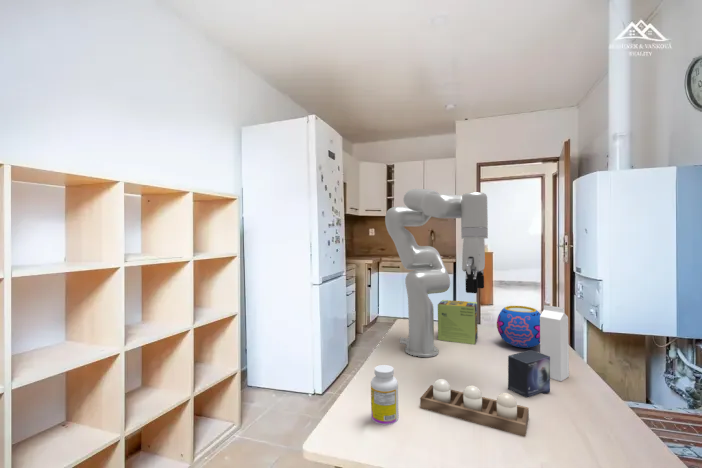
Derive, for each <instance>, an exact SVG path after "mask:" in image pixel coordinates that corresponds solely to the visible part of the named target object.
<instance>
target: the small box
mask: <svg viewBox="0 0 702 468" xmlns="http://www.w3.org/2000/svg"><path fill="white" fill-rule="evenodd" d="M507 357H508V358H507V360H508V361H507V362H508V363H507V371H508V372H507V374H508V375H507V390H509V391H511V392H513V393H515V394H517V395H520V396H521V397H524V398H527V399H528V398H532V397H534V396H538V395H539V394H542V395H546V394H548V393H551V378H550V356H547V355H544V354H541V353H540V352H538V351H535V350H532V349H530V350H525V351H521V352H518V353H513V354H510V355H509V354H508V356H507Z"/></svg>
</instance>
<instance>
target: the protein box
mask: <svg viewBox="0 0 702 468" xmlns="http://www.w3.org/2000/svg"><path fill="white" fill-rule="evenodd" d="M478 327H479V326H478V302H477V301H464V300H463V301H462V300H448V299H442V300H441V301H440V302H439V303H438V304H437V340H438V341H443V340H444V342H453V343H461V344H468V345H476V343H477V341H478V337H479V336H478V335H479V334H478V332H479V331H478Z"/></svg>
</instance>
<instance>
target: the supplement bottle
mask: <svg viewBox="0 0 702 468" xmlns="http://www.w3.org/2000/svg"><path fill="white" fill-rule="evenodd" d="M394 374H395V373H394V367H393V366H391V365H387V364H379V365H377V366H375V367H374V376H373V377H372V378H371V381H370V403H371V411H370V412H371V414H370V415H371V421H373V423H374V422H375V423H376V424H378V425H383V426H389V425H393V424H396V423H397V422H398V421H399V383H398V380H397V378H396V377H395V376H394Z"/></svg>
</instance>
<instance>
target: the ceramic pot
mask: <svg viewBox="0 0 702 468" xmlns="http://www.w3.org/2000/svg"><path fill="white" fill-rule="evenodd" d="M541 314H542V313H540V312H539V311H538V310H537V309H536V308H534V307H530V306H525V305H524V306H523V305H507V306H505V307H503V308H502V309H501V310H500V312H499V314H498V315H497V318H496V328H497V332H498V333H499V336H500V337H501V339H502V340H503V341H504V342H506V344H509V345H511V346H513V347H516V348H519V349H526V348H527V349H528V348H534V347H535V346H538V345H540V315H541Z"/></svg>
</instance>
